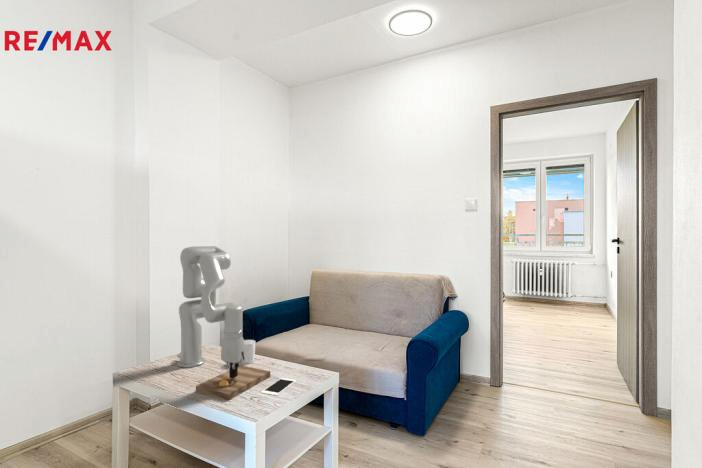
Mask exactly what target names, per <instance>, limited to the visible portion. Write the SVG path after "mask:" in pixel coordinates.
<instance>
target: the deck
mask: <svg viewBox="0 0 702 468" xmlns="http://www.w3.org/2000/svg"><path fill="white" fill-rule="evenodd" d="M269 378H271V370H267V369H262V368H256V367H251V366H247V365H240V366H239V367H238V376H237V377H235V378H230V369H229V370H226V371H224V372H223V373H220V374H218V375H216V376H215V377H211V378H210V379H207V380H206V381H203V382H202V383H200V384H197V385H195V393H197V394H198V393H199V394H203V395H207V396H210V397H214V398H218V399H221V400H226V401H230V400H232V399H234V398H236V397H238V396H239V395H241V394H243V393H244V392H246V391H248V390H249V389H251V388H253V387H255V386H257V385H258V384H260V383H262V382H263V381H265V380H267V379H269ZM222 380H226V381H228V383H229V385H227V386H219V383H220V381H222Z"/></svg>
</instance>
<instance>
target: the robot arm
mask: <svg viewBox="0 0 702 468" xmlns="http://www.w3.org/2000/svg"><path fill="white" fill-rule="evenodd" d="M179 257H180V258H179V260H180V264H181V267H182V295H183V297H184V298H186V299H191V300H188V301H184V302H182V303H181V304H180V305H179V307H178V314H179V319H180V352H179V354H177V356H176V357H177V358H179V361H177V366H178V367H180V368H194V367H199V366H202V365H203V364H204V363H205V362H206V358H204V357H203V356H202V354H203V352H202V351H203V350H202V349H203V348H202V344H203V343H202V341H203V340H202V338H203V336H202V335H203V334H202V325H201V324H200V323H199V322H198V320H199V319H205V320H206V322H207V323H209V324H212V323H218V322H224V327H223V334H224V336H223V338H222V342H221V350H220V359H221V361H222V362H224V363H226V365H227V367H228V369H229V370H230V378H235V377H237V376H238V367H239V366H240V365H242V366H244V365H245V364H244V360H245V345H244V340H245V339H244V337H243V334H244V333H243V330H244V329H243V325H244V322H243V321H244V320H243V314H244V313H243V307H242V306H241V305H236V304H235V303H234V302H226V303H218V304H217V301H216V300H217V290H218V289H219V288H222V286H223V285H224V284H225V283H226V282H225V281H226V280H225V277H224V273H223V271H224V270H227V269H229V268H230V267H231V264H232V262H231V261H232V259H231V257H230V255H229V254H228V253H227V252H226V251H225V250H223V249H221V248H219V247H218V246H214V245H209V246H208V245H207V246H206V245H205V246H204V245H203V246H199V245H197V246H188V247H185V248H183V249H182V250H181V252H180V256H179ZM222 270H223V271H222ZM197 298H200V299H197Z"/></svg>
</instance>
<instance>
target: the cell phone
mask: <svg viewBox="0 0 702 468" xmlns="http://www.w3.org/2000/svg"><path fill="white" fill-rule="evenodd" d="M296 382H297V379H292V378H291V379H290V378H284V377H280V378H279V379H277V380H276V381H274V382H273V383H272V384H270V385H269V386H267V387H266V388H265V389H263V390H261V392H260V394H264V395H269V396H279V394H281V393H282V392H283V391H285V390H286V389H288V388H289V387H290V386H291V385H293V384H295V383H296Z"/></svg>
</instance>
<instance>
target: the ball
mask: <svg viewBox="0 0 702 468" xmlns="http://www.w3.org/2000/svg"><path fill="white" fill-rule="evenodd" d="M227 385H229V383H228V381H226V380H222V381H220V383H219V386H227Z"/></svg>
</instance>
